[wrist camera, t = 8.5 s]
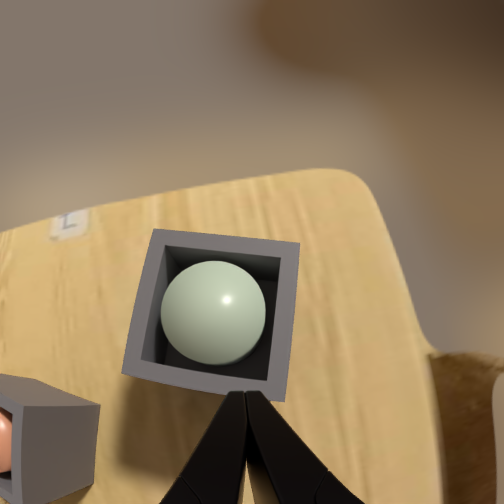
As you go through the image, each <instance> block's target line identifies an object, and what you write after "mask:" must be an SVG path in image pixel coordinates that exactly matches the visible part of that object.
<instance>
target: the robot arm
mask: <svg viewBox="0 0 504 504" xmlns="http://www.w3.org/2000/svg"><path fill="white" fill-rule="evenodd" d="M246 461H247V468H248V474H249V479H250V483H251V488H252V493H253V497H254V502H255V504H365V503H364V502H362V501H361V500H360V499H359V498H357V497H356V496H355V495H354V494H353V493H351V492H350V491H349V490H348V489H347V488H346V487H345V486H344V485H343V484H342V483H341V482H340V481H339V480H338V479H337V478H336V477H335V476H334V475H333V474H332V473H331V471H328V468H327V467H326V466H325V465H324V464H323V463H322V462H321V461H320V460H319V459H318V457H317V456H316V455H315V454H314V453H313V452H312V451H311V450H310V449H309V447H308V446H307V445H306V444H305V443H304V442H303V441H302V439H301V438H300V437H299V436H298V435H297V434H296V433H295V431H294V430H293V429H292V428H291V427H290V426H289V424H288V423H287V422H286V421H285V420H284V418H283V417H282V416H281V415H280V414H279V412H278V411H277V410H276V409H275V408H274V406H273V405H272V404H271V403H270V402H269V400H268V399H267V398H266V397H265V395H264V394H263V393H262V392H261V391H260V390H247V391H246V392H244V391H242V390H239V391H229V392H228V393H227V395H226V397H225V399H224V400H223V402H222V404H221V406H220V407H219V409H218V411H217V412H216V414H215V416H214V418H213V419H212V421H211V423H210V424H209V426H208V428H207V429H206V431H205V433H204V434H203V436H202V438H201V439H200V441H199V443H198V444H197V446H196V448H195V449H194V451H193V453H192V454H191V456H190V458H189V459H188V461H187V462H186V464H185V466H184V467H183V469H182V471H181V472H180V474H179V477H177V478H176V480H175V481H174V483H173V485H172V486H171V488H170V489H169V491H168V492H167V493H166V495H165V496H164V498H163V499H162V500H161V502H160V503H159V504H242V502H243V492H244V482H245V471H246Z"/></svg>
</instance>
